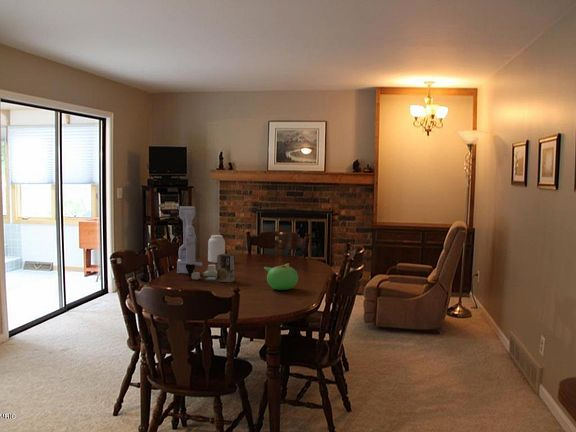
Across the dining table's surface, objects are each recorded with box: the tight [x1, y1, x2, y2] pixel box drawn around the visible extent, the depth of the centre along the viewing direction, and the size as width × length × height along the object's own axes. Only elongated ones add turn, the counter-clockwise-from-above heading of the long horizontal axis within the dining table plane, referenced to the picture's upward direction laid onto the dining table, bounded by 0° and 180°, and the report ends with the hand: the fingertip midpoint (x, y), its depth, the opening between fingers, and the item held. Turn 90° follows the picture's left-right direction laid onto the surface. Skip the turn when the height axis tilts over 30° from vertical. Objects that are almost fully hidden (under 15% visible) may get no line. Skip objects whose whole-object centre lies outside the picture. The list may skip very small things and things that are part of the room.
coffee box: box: [216, 253, 235, 283], centre depth 309 cm, size 9×6×16 cm
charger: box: [207, 263, 217, 273], centre depth 328 cm, size 4×4×6 cm
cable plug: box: [191, 271, 202, 280], centre depth 315 cm, size 5×4×4 cm
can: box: [207, 234, 226, 264], centre depth 382 cm, size 12×12×20 cm
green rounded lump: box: [263, 262, 299, 291], centre depth 289 cm, size 18×17×15 cm
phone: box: [204, 276, 217, 282], centre depth 314 cm, size 6×8×1 cm
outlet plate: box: [202, 269, 217, 277], centre depth 328 cm, size 12×9×2 cm
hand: (190, 276), depth 316 cm, fingers closed
